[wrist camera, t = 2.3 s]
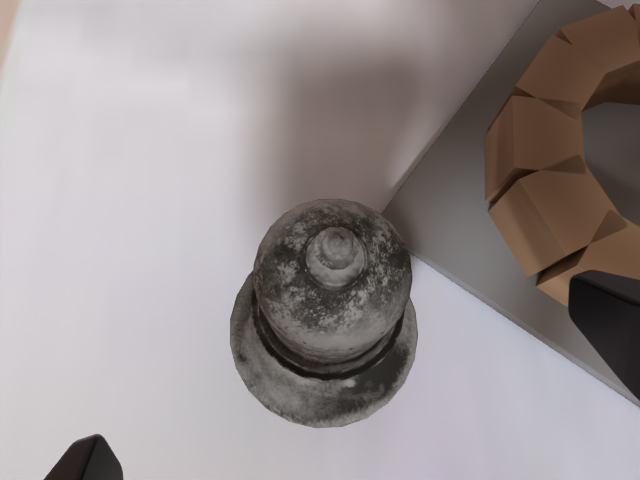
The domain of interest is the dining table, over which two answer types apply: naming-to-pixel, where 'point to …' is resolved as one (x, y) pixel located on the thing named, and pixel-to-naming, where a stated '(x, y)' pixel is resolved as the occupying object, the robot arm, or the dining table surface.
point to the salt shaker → (326, 315)
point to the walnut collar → (538, 174)
